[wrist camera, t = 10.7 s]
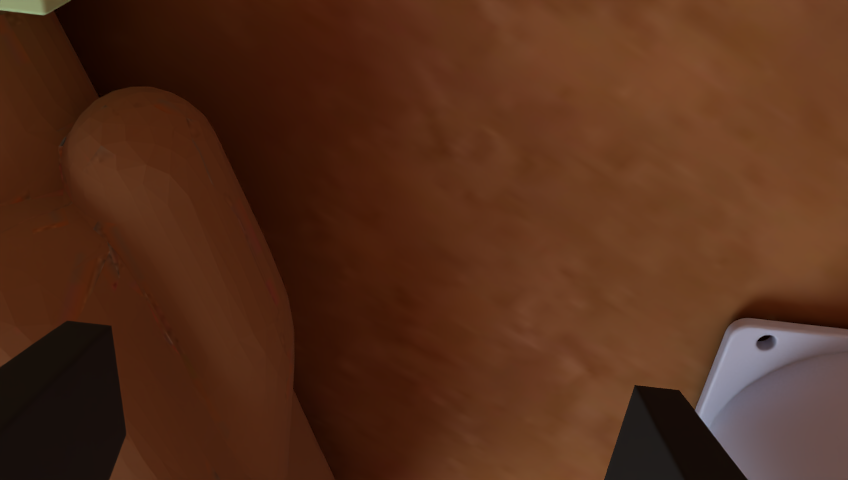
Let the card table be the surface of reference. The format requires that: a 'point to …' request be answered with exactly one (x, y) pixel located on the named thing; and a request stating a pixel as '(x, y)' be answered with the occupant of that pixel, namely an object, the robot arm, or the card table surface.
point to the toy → (145, 266)
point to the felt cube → (31, 6)
